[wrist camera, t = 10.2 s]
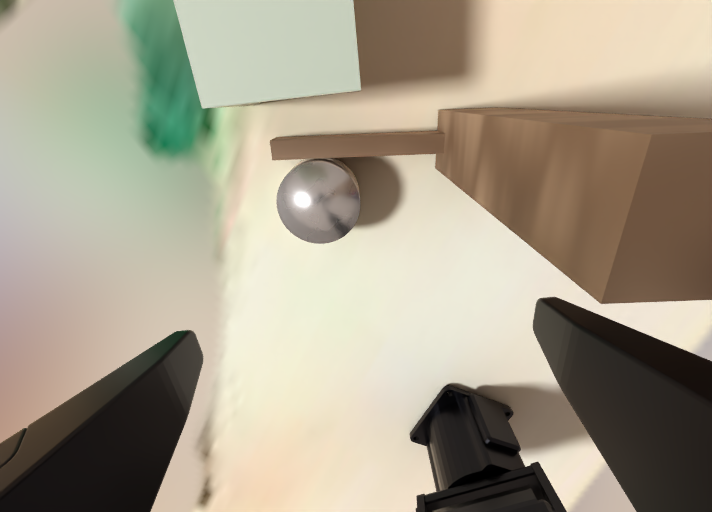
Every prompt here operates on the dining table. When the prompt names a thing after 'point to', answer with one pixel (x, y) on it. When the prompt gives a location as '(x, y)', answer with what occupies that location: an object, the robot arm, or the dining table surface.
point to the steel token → (319, 200)
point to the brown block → (574, 189)
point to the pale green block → (269, 49)
